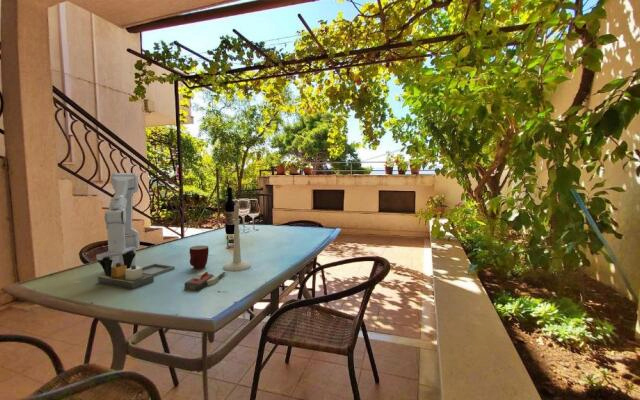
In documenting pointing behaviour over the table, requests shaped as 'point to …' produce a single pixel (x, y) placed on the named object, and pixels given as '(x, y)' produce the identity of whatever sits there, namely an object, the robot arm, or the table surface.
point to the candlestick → (236, 248)
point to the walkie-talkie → (202, 281)
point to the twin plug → (133, 273)
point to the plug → (118, 270)
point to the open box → (126, 281)
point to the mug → (198, 256)
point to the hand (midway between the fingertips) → (118, 273)
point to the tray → (156, 269)
